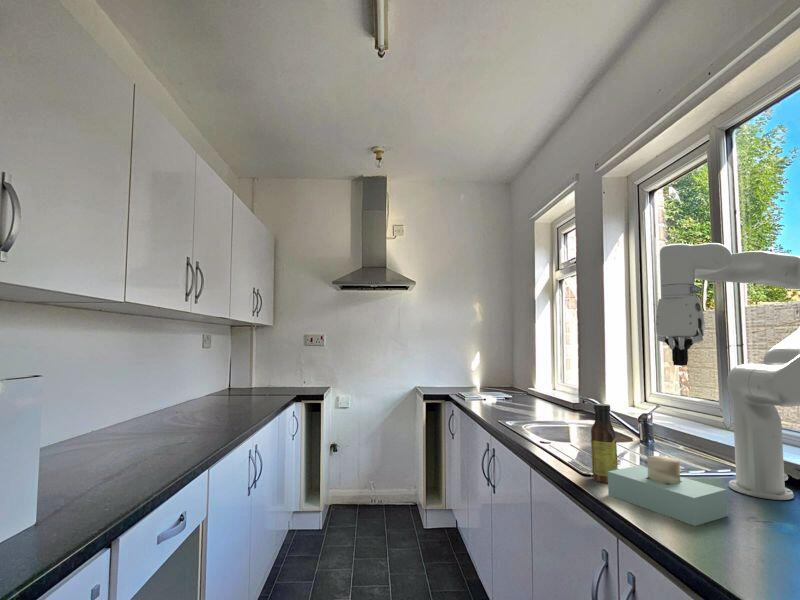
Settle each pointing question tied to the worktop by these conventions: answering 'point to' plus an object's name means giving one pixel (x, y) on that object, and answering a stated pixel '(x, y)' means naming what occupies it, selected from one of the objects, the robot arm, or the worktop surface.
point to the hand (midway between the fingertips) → (680, 365)
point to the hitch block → (669, 496)
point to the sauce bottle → (603, 444)
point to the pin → (663, 470)
